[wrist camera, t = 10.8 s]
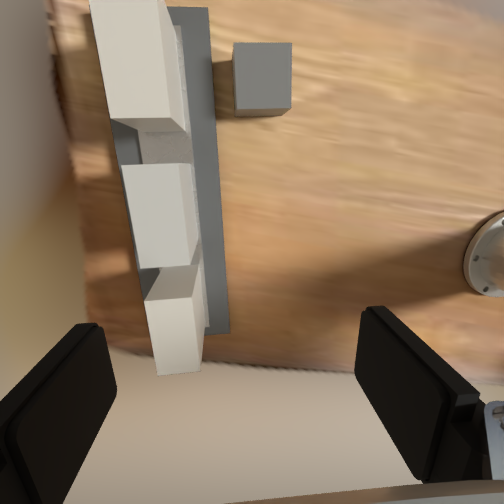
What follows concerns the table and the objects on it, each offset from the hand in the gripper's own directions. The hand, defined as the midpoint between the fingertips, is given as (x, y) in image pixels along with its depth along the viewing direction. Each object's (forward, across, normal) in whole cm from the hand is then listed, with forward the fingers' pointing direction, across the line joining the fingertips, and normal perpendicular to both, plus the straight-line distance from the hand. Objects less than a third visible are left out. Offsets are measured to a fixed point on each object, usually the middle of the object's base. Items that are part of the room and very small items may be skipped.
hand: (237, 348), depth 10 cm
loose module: (+20, +6, -3) cm, 22 cm away
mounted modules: (+20, +6, -3) cm, 22 cm away
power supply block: (+23, -3, -14) cm, 27 cm away
